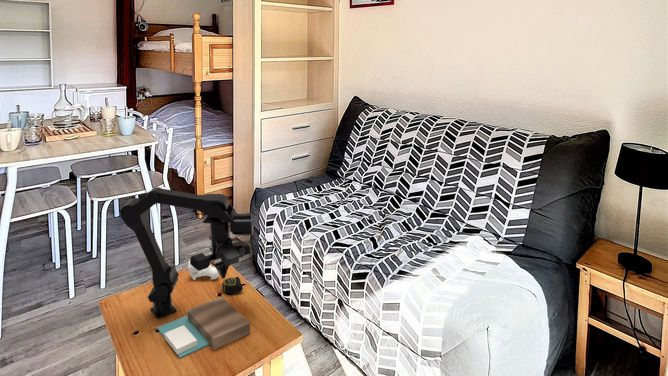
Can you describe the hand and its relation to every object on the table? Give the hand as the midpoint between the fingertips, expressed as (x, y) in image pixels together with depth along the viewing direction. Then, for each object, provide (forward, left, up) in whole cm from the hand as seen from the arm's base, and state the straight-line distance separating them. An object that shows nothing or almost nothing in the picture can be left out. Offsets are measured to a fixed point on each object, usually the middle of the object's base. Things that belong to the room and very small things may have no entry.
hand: (222, 278), depth 143 cm
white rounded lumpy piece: (-23, +4, -12) cm, 26 cm away
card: (+7, -18, -10) cm, 22 cm away
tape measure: (-9, +9, -12) cm, 18 cm away
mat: (+5, -16, -12) cm, 20 cm away
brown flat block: (+7, -6, -12) cm, 15 cm away
